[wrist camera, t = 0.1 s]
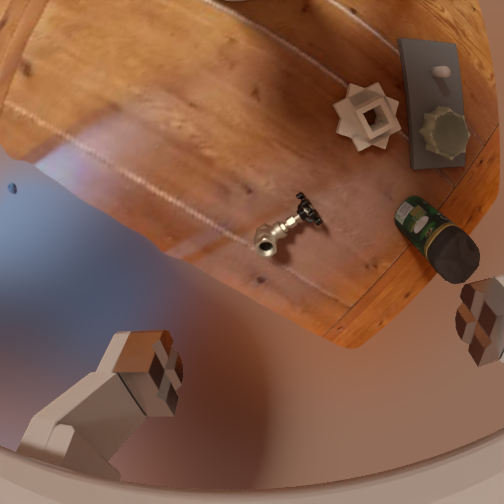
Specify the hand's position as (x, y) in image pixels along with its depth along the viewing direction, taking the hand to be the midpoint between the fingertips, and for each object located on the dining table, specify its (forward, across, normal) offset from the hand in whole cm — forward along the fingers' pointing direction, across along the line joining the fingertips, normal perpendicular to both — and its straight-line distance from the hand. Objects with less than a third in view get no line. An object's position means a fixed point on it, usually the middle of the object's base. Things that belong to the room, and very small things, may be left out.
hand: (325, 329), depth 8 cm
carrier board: (+48, -31, -3) cm, 57 cm away
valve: (+48, 0, +16) cm, 51 cm away
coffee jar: (+48, -26, +19) cm, 58 cm away
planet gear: (+48, -17, -1) cm, 51 cm away
